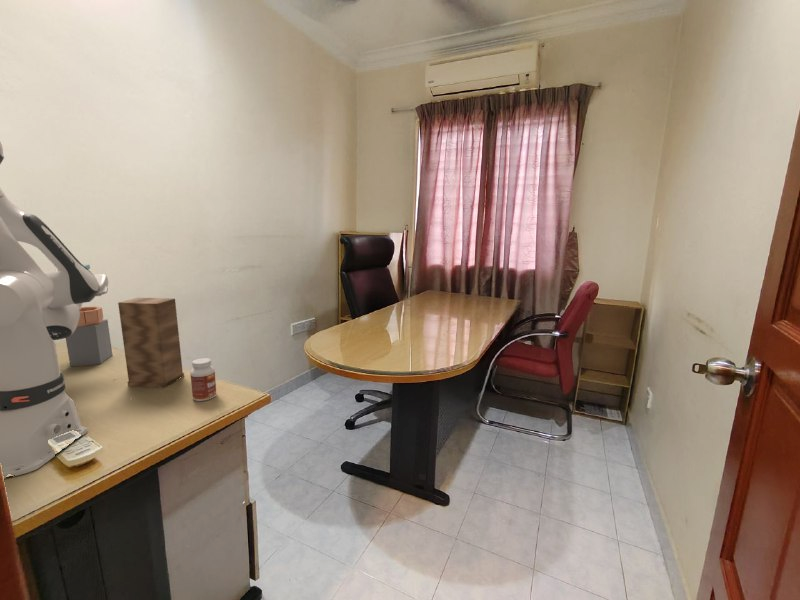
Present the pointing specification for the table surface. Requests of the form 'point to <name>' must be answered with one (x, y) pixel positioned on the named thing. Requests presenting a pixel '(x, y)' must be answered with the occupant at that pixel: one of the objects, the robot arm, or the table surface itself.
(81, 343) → the riser
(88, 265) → the lid slat
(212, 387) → the pill bottle
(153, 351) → the walnut shelf
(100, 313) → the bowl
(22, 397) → the robot arm
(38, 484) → the table surface
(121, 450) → the table surface
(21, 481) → the table surface
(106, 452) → the table surface
